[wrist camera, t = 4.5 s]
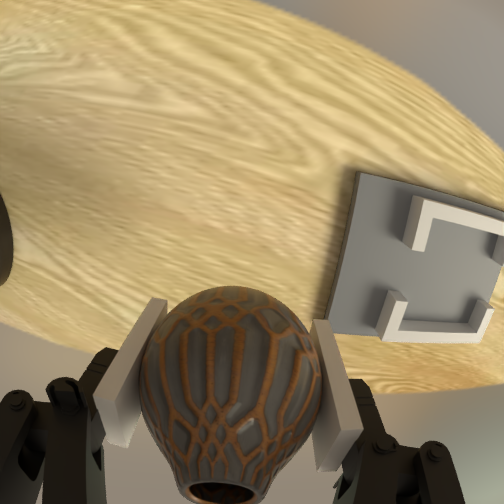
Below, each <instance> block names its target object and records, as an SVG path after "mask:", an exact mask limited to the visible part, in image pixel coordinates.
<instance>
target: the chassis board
mask: <svg viewBox="0 0 504 504" xmlns="http://www.w3.org/2000/svg"><path fill="white" fill-rule="evenodd" d="M502 266H503V267H504V212H502V211H499V210H497V209H494V208H491V207H488V206H485V205H482V204H479V203H476V202H472V201H469V200H466V199H463V198H459V197H456V196H453V195H449V194H446V193H442V192H439V191H435V190H432V189H428V188H424V187H421V186H417V185H413V184H409V183H405V182H401V181H397V180H393V179H388V178H384V177H380V176H375V175H371V174H366V173H362V172H356V178H355V183H354V189H353V194H352V200H351V205H350V210H349V215H348V220H347V225H346V230H345V234H344V239H343V244H342V248H341V253H340V257H339V261H338V266H337V270H336V274H335V278H334V282H333V286H332V290H331V294H330V298H329V302H328V306H327V309H326V313H325V317H324V320H329V322H330V325H331V328H332V331H333V333H337V334H349V335H363V336H378V337H380V339H381V341H386V342H411V343H480V341H481V339H482V337H483V334H484V332H485V330H486V328H487V326H488V324H489V321H490V319H491V317H492V314H493V312H494V310H495V309H494V308H493V307H492V306H491V305H489V304H488V303H489V300H490V298H491V295H492V293H493V290H494V287H495V284H496V282H497V279H498V276H499V273H500V270H501V267H502Z"/></svg>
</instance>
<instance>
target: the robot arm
mask: <svg viewBox="0 0 504 504" xmlns="http://www.w3.org/2000/svg"><path fill="white" fill-rule="evenodd" d="M12 262H13V238H12V231H11V225H10V221H9V217H8V213H7V210H6V207H5V204H4V202H3V199H2V197H1V195H0V286H1V285H3V284H4V283H5V282H6V280H7V279H8V277H9V274H10V271H11V268H12ZM166 315H167V300H164V299H158V298H153V297H152V298H151V300H150V301H149V303H148V305H147V306H146V308H145V309H144V311H143V312H142V314H141V316H140V317H139V319H138V320H137V322H136V323H135V325H134V327H133V328H132V330H131V331H130V333H129V335H128V336H127V338H126V340H125V341H124V343H123V344H122V346H121V348H120V349H119V350H115V349H111V348H107V347H106V348H104V349H103V350H101V351H100V352H98V353H97V354H96V355H95V357H94V358H93V360H92V361H91V363H90V364H89V365H88V367H87V370H85V372H84V373H83V375H82V376H81V378H80V379H79V381H77V380H75V379H73V378H68V377H62V378H57V379H55V380H53V381H51V382H50V383H49V384H48V386H47V388H46V392H47V395H48V397H49V400H50V402H39V401H34V400H33V398H32V397H31V395H30V394H29V393H28V392H26V391H24V390H14V391H11V392H9V393H8V394H6V395H5V396H4V398H3V399H2V401H1V402H0V504H35V503H36V500H37V497H38V494H39V491H40V488H41V485H42V482H43V494H42V504H107V501H106V490H105V489H106V488H105V472H104V449H103V446H102V442H103V439H104V437H105V435H106V438H107V440H108V443H111V444H114V445H118V446H121V447H124V448H128V445H129V442H130V440H131V437H132V435H133V432H134V429H135V427H136V424H137V422H138V419H139V416H140V414H141V411H142V410H141V406H140V397H139V377H140V368H141V363H142V359H143V355H144V353H145V350H146V348H147V345H148V343H149V341H150V339H151V337H152V335H153V333H154V332H155V330H156V329H157V327H158V326H159V324H160V323H161V321H162V320H163V319H164V317H165V316H166ZM309 335H310V337H311V339H312V341H313V343H314V346H315V349H316V352H317V355H318V358H319V363H320V367H321V373H322V395H321V403H320V408H319V413H318V416H317V420H316V422H315V425H314V427H313V430H312V440H313V447H314V454H315V462H316V470H317V472H326V471H337V470H338V468H339V467H340V465H341V464H342V468H343V474H342V475H341V476H340V478H339V479H338V481H337V482H336V483H335V485H334V486H333V488H336V487H337V490H336V493H335V497H334V501H333V504H465V501H464V497H463V494H462V490H461V487H460V483H459V480H458V477H457V473H456V470H455V467H454V464H453V461H452V458H451V455H450V452H449V451H448V449H447V447H446V446H445V445H443V444H442V443H440V442H437V441H428V442H425V443H424V444H423V445H422V446H421V447H420V448H413V447H407V446H402V445H399V444H398V442H397V441H396V439H395V438H394V437H392V436H391V435H388V434H386V432H385V429H384V426H383V423H382V420H381V417H380V415H379V412H378V409H377V407H376V406H375V401H374V399H373V396H372V393H371V390H370V388H369V386H368V385H367V384H366V383H365V382H364V381H363V380H362V379H348V376H347V373H346V370H345V367H344V364H343V361H342V358H341V355H340V352H339V349H338V346H337V343H336V340H335V337H334V334H333V331H332V328H331V325H330V322H329V320H321V319H313V322H312V326H311V329H310V333H309Z"/></svg>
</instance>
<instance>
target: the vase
mask: <svg viewBox="0 0 504 504" xmlns="http://www.w3.org/2000/svg"><path fill="white" fill-rule="evenodd" d="M321 395H322V373H321V367H320V363H319V358H318V355H317V352H316V349H315V346H314V343H313V341H312V339H311V337H310V335H309V333H308V331H307V329H306V328H305V326H304V325H303V324H302V322H301V321H300V320H299V318H298V317H297V316H296V315H295V314H294V313H293V312H292V311H291V310H290V309H289V308H288V307H287V306H286V305H284V304H283V303H282V302H280V301H279V300H277V299H276V298H274V297H272V296H270V295H268V294H266V293H264V292H261V291H259V290H256V289H252V288H248V287H242V286H222V287H216V288H211V289H208V290H204V291H201V292H199V293H197V294H194V295H192V296H191V297H189V298H187V299H186V300H184V301H183V302H181V303H180V304H178V305H177V306H176V307H175V308H174V309H172V310H171V311H170V312H169V313H168V314H167V315H166V316H165V317H164V319H163V320H162V321H161V323H160V324H159V326H158V327H157V329H156V330H155V332H154V333H153V335H152V337H151V339H150V341H149V343H148V345H147V348H146V350H145V353H144V355H143V359H142V363H141V368H140V377H139V397H140V406H141V410H142V415H143V417H144V420H145V423H146V426H147V428H148V430H149V432H150V434H151V436H152V437H153V439H154V441H155V442H156V444H157V446H158V447H159V449H160V451H161V452H162V454H163V455H164V457H165V458H166V460H167V461H168V463H169V464H170V467H171V469H172V471H173V474H174V478H175V481H176V484H177V487H178V490H179V492H180V493H181V495H182V496H183V497H185V498H186V499H187V500H189V501H191V502H193V503H196V504H258V503H260V502H261V501H262V500H263V499H264V497H265V496H266V494H267V492H268V489H269V488H270V485H271V484H272V482H273V480H274V479H275V477H276V476H277V474H278V473H279V472H280V471H281V470H282V469H283V468H284V467H285V466H286V465H287V463H288V462H289V461H290V460H291V459H292V458H293V457H294V455H295V454H296V453H297V452H298V451H299V450H300V448H301V447H302V446H303V445H304V443H305V442H306V440H307V439H308V437H309V435H310V434H311V432H312V430H313V427H314V425H315V422H316V420H317V416H318V413H319V408H320V403H321Z"/></svg>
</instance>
